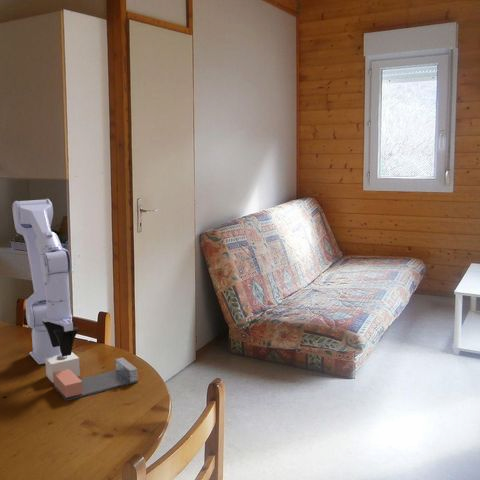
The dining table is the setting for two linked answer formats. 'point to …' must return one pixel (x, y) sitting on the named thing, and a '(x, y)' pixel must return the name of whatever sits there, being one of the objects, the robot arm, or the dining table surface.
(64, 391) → the block
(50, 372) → the block
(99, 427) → the dining table surface
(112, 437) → the dining table surface
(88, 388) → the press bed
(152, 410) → the dining table surface
